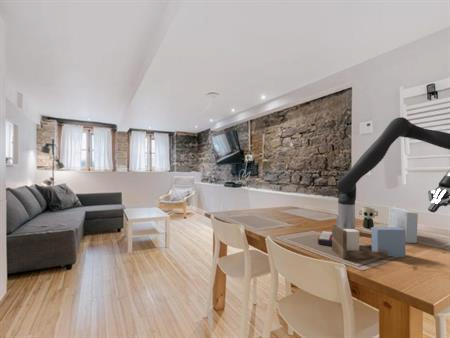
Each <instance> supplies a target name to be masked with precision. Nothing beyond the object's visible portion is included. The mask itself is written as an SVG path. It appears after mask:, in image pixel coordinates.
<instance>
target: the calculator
mask: <svg viewBox="0 0 450 338" xmlns="http://www.w3.org/2000/svg"><path fill="white" fill-rule="evenodd" d="M317 245H320V246H324V247H325V246H326V247H332V231H324V230H323V231H321V233H320V234H319V237H318V239H317Z"/></svg>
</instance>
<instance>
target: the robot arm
mask: <svg viewBox="0 0 450 338" xmlns="http://www.w3.org/2000/svg"><path fill="white" fill-rule="evenodd" d="M399 137H400V138H401V137H402V138H407V139H412V140H418V141H421V142H424V143H426V144H427V143H428V144H430V145H433V146H436V147H439V148H442V149H445V150H450V132H445V131H440V130H434V129H427V128H424V127H421V126H419V125H416V124H413V123H412V122H410V120H408V119H407V118H406V117H403V116H401V117H400V116H399V117H397V118H394V119H393V120H391V122H389V124H388V125H387V126H386V128H385V129H384V131H383V132H382V133H381V134H380V135H379V137H378V138H377V139H376V140H375V141H374V142H373V143H372V144H371V145H370V146H369V147H368V149H366V150H365V151H364V152H363V154H362V155H361V156H360V157H359V159H358V160H356V162H355V164H354V165H352V167H351V168H350V170H348V172H346V173H345V174H344V175H343V176H341V178H340V179H339V180H338V181H336V182H337V183H336V189H337V190H338V192H339V197H338V199H337V200H338V201H337V203H338V205H337V210H338V211H337V213H338V215H336V226H338V227H340V228H342V229H355V230H356V200H357V199H356V198H357V184H358V182H359V181H360V180H361V179H362V178H363V177H364V176H365V175H367V174H368V173H370V172H371V171H372V170H373V169H374V168H376V167H377V166H378V164H379V163H380V162H381V161H382V160H383V159H384V158H385V156H386V154H387V153H388V151H389V149H390V147H391V146H392V144H393V143H394V142H395V141H396V140H397V139H398V138H399ZM427 195H428V201H429V202H431V204H429V206H428V208H427V210H428V211H429V212H430V213H436V212H437V211H438V209H439V208H440V207H442V206H443V207H447V206H449V205H450V169H449V170H448V171H447V172H446V173H445V174H444V175H443V177H442V178H441V179H440V181H439V182H438V187H436V188H435V189H434V190H428V191H427Z"/></svg>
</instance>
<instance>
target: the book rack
mask: <svg viewBox="0 0 450 338" xmlns="http://www.w3.org/2000/svg"><path fill="white" fill-rule="evenodd" d="M331 226H332V227H331V232H332V246H331V247H332V249H331V250H332V251H333V252H334V253H335V254H336V255H337V256H339V257H340V258H341V259H342V260H348V259H357V260H358V259H359V258H383V259H382V260H387V259H389V257H388V251H372V244H359V251H347V231H345V230H344V229H342V228H340V227H338V226H337V224H335V225H334V224H332V225H331ZM385 258H386V259H385ZM359 260H360V259H359Z"/></svg>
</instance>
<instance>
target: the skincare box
mask: <svg viewBox="0 0 450 338" xmlns="http://www.w3.org/2000/svg"><path fill="white" fill-rule="evenodd" d="M387 217H388V220H387V221H388V222H387V223H388V224H387V227H399V228H402V229H404V230H405V244H406V243H407V244H417V242H418V222H419V221H418V219H419V218H418V217H419V214H418V212H414V211H411V210H407V209H404V208H401V207H398V206H397V207H395V206H388V216H387Z"/></svg>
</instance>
